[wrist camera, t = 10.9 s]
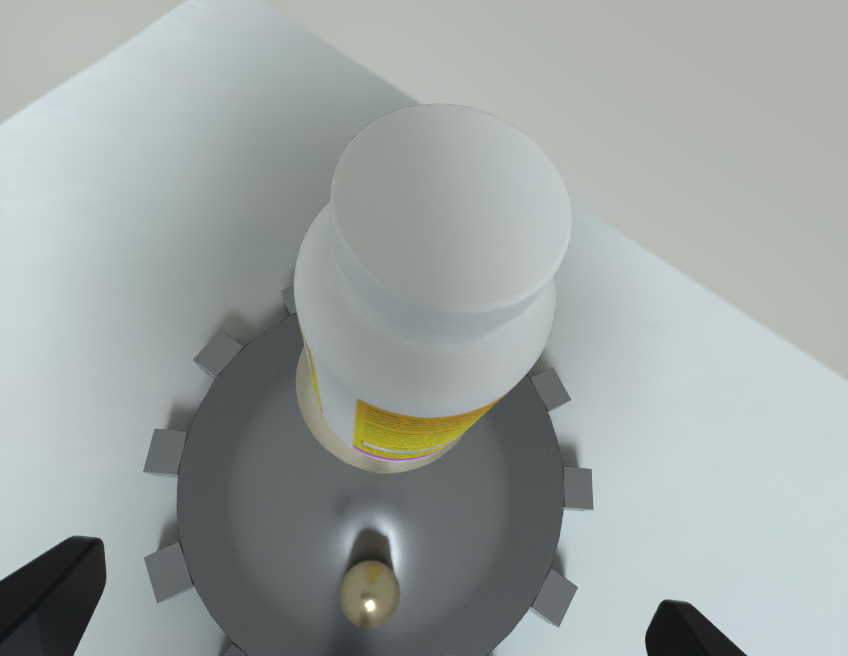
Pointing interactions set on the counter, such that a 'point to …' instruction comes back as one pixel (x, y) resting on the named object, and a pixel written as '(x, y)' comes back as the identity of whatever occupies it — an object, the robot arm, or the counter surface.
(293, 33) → the counter surface
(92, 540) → the robot arm
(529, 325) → the supplement bottle
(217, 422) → the sprocket plate
